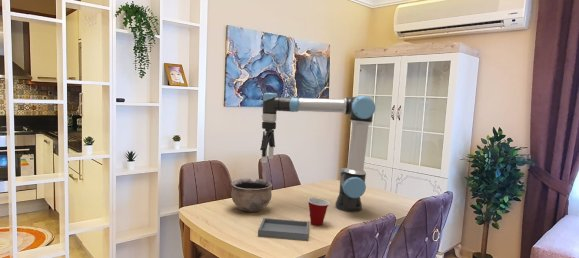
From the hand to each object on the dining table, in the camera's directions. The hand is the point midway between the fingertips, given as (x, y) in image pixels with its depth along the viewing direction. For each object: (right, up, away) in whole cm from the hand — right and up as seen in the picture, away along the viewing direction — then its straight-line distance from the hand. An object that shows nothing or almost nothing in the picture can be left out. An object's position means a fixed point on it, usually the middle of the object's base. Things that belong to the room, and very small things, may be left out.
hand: (267, 160), depth 196 cm
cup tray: (+10, -30, -30) cm, 44 cm away
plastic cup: (+26, -30, -17) cm, 43 cm away
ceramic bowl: (-9, -27, 0) cm, 28 cm away
